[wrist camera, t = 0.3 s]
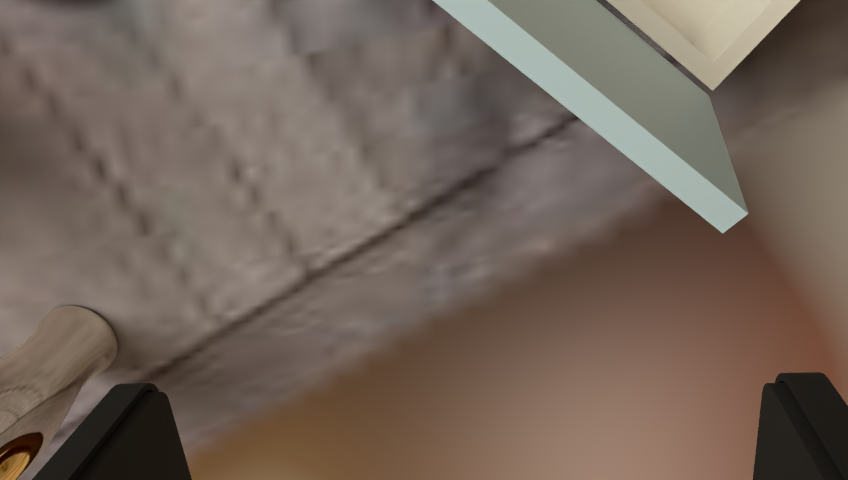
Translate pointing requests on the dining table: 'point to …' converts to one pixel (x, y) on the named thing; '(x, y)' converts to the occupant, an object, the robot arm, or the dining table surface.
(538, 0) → the lid
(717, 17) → the box
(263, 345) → the dining table surface
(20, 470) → the beer glass
